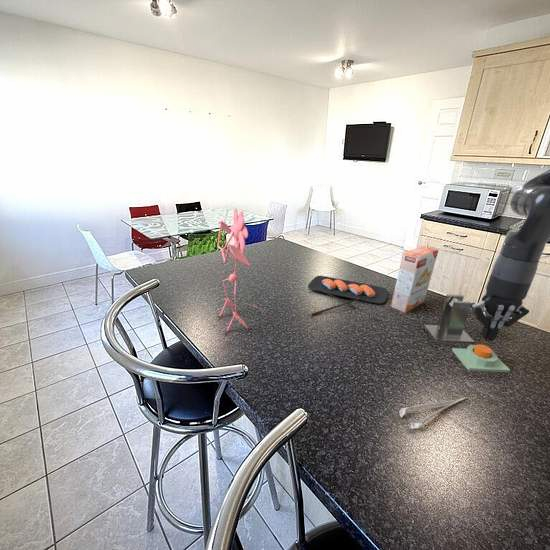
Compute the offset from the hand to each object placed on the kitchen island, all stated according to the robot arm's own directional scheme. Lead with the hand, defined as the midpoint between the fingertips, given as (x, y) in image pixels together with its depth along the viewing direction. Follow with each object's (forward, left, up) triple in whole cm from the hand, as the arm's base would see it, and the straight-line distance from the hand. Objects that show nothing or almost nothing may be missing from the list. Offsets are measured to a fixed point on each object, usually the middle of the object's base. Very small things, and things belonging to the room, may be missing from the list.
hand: (487, 338), depth 73 cm
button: (0, 0, -5) cm, 5 cm away
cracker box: (+7, -30, -8) cm, 32 cm away
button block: (0, 0, -8) cm, 8 cm away
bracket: (+2, -12, -8) cm, 15 cm away
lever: (-2, -12, 0) cm, 12 cm away
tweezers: (+18, +16, -8) cm, 25 cm away
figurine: (+64, -17, -8) cm, 66 cm away
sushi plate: (+30, -32, -8) cm, 45 cm away
